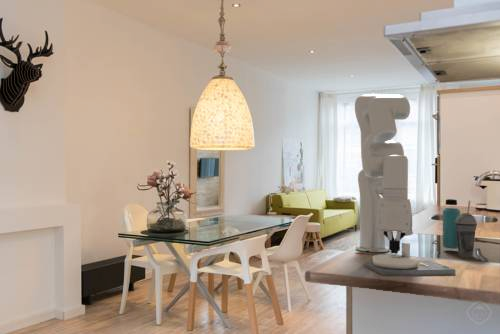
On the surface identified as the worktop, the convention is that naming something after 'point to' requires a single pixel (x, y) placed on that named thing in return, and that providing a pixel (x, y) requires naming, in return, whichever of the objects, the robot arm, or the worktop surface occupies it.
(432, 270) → the stand
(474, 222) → the beverage cup
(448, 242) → the beverage bottle
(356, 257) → the worktop surface
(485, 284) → the worktop surface
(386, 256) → the dial
